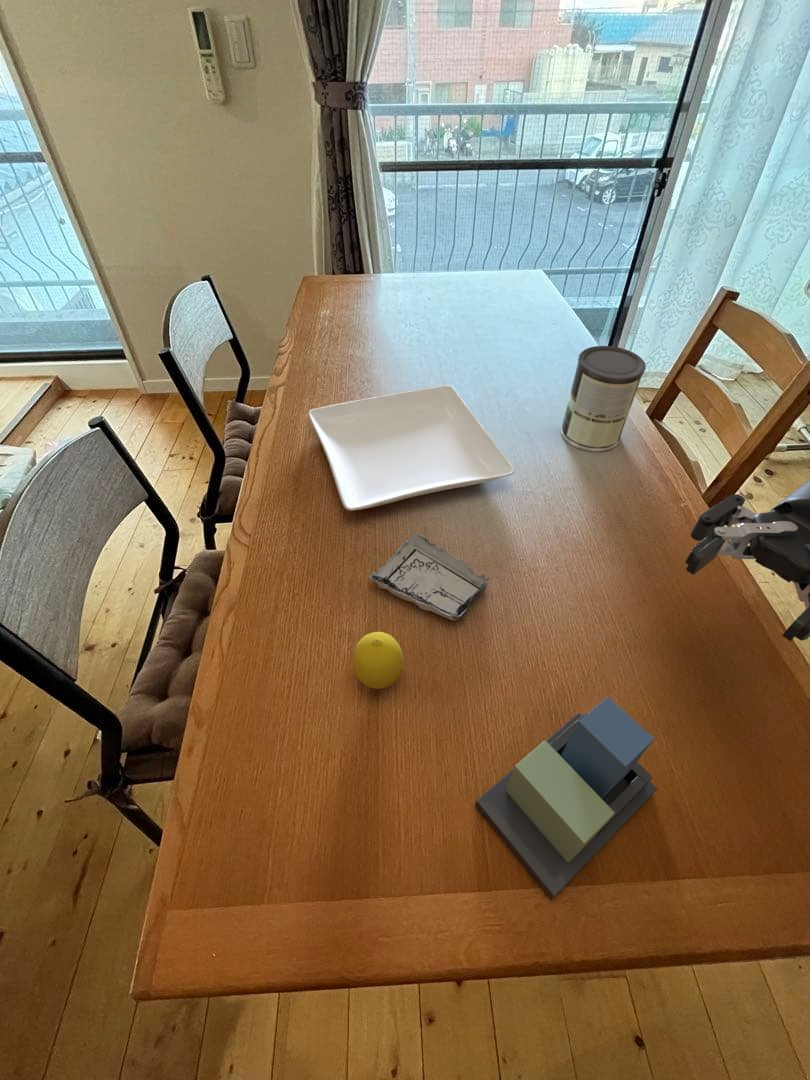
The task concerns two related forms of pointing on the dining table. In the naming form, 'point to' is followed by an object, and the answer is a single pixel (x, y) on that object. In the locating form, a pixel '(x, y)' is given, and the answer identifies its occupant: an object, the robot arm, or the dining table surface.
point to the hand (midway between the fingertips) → (739, 597)
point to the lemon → (377, 660)
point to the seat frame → (558, 811)
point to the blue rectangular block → (605, 747)
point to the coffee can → (601, 397)
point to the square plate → (405, 446)
